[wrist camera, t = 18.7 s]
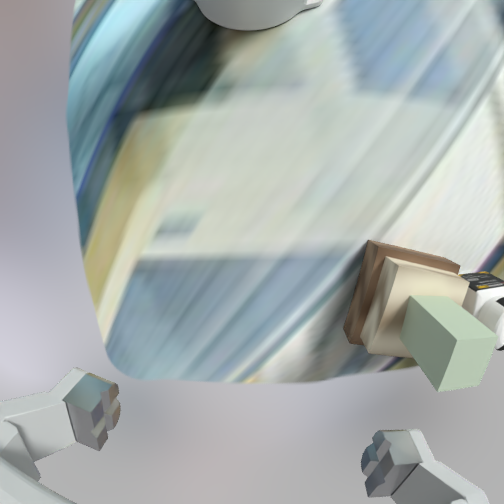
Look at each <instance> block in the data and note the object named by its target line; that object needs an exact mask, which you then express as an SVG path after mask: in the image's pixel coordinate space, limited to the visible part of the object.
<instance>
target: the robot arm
mask: <svg viewBox="0 0 504 504" xmlns="http://www.w3.org/2000/svg"><path fill="white" fill-rule="evenodd" d="M194 1H195V2H196V3H197V5H198V7H199V8H200V10H201V12H202V13H203V14H204V15H205V16H206V17H207V18H208V19H209V20H211V21H212V22H214V23H216V24H218V25H220V26H223V27H226V28H230V29H236V30H260V29H266V28H270V27H274V26H277V25H279V24H282V23H284V22H286V21H287V20H289V19H291V18H292V17H293V16H295V15H296V14H297V13H299V12H300V11H302V10H305V9H309V8H313V7H317V6H319V5H321V4H322V1H323V0H194ZM118 394H119V388H118V385H117V384H116V383H114V382H111V381H109V380H106V379H104V378H101V377H99V376H96V375H94V374H92V373H88V372H86V371H84V370H82V369H79V368H73V369H72V370H71V371H70V372H69V373H68V374H67V375H66V376H65V377H64V378H63V379H62V380H61V381H60V382H59V383H58V384H57V385H56V386H55V387H54V388H53V389H52V390H51V391H50V392H49V393H47V392H41V393H37V394H32V395H28V396H23V397H19V398H14V399H10V400H5V401H0V504H76V503H74V502H72V501H70V500H69V499H67V498H65V497H63V496H61V495H59V494H57V493H56V492H54V491H52V490H50V489H48V488H47V487H45V486H44V485H42V484H40V483H39V482H38V481H39V479H40V478H41V477H40V473H39V471H38V470H37V468H36V466H35V464H34V462H35V461H37V460H39V459H42V458H44V457H46V456H48V455H51V454H53V453H55V452H57V451H60V450H62V449H64V448H66V447H68V446H70V445H72V444H75V443H76V441H77V442H79V443H82V444H84V445H86V446H88V447H91V448H93V449H95V450H98V451H100V450H101V448H102V447H103V445H104V443H105V442H106V440H107V439H108V434H107V431H109V430H112V429H114V427H115V426H116V424H117V422H118V419H119V416H120V403H119V401H118V400H117V398H116V397H117V395H118ZM372 439H373V443H372V444H371V445H370V446H368V447H367V448H366V449H365V451H364V453H363V455H362V459H361V468H362V472H363V474H365V475H366V476H367V477H368V478H367V480H366V481H365V486H366V491H367V495H368V497H383V496H391V498H392V499H393V500H394V501H395V503H396V504H490V503H489V501H488V498H487V497H486V495H485V493H484V491H483V490H481V489H480V488H478V487H477V486H475V485H474V484H472V483H471V482H469V481H468V480H466V479H465V478H463V477H462V476H460V475H459V474H457V473H456V472H454V471H453V470H451V469H450V468H448V467H447V466H446V465H444V464H442V463H441V462H440V461H435V459H434V457H433V455H432V453H431V451H430V449H429V447H428V444H427V443H426V440H425V438H424V436H423V434H422V432H421V431H420V430H419V429H410V430H409V429H408V430H379V431H377V432H376V433H375V435H374V436H373V438H372Z"/></svg>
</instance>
